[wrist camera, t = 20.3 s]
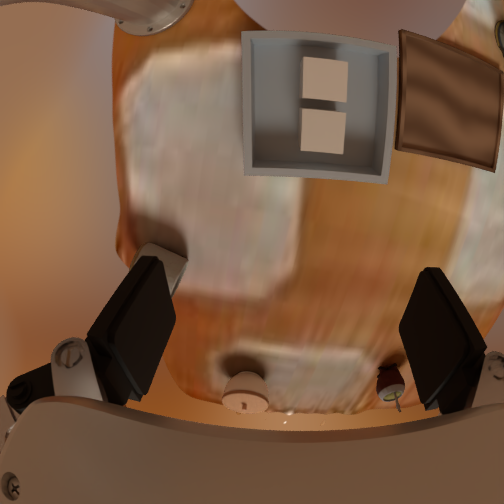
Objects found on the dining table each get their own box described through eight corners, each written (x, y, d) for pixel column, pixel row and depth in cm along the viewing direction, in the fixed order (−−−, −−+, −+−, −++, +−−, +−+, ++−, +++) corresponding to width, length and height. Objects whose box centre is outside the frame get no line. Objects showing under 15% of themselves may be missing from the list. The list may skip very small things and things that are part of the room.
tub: (246, 39, 28) (241, 31, 24) (382, 51, 26) (396, 46, 22) (248, 165, 37) (244, 175, 33) (375, 173, 36) (387, 184, 31)
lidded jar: (271, 388, 65) (269, 420, 58) (230, 387, 67) (225, 418, 59) (268, 365, 60) (266, 400, 52) (223, 365, 62) (216, 398, 54)
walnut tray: (398, 30, 24) (401, 29, 23) (499, 71, 22) (503, 71, 21) (394, 148, 33) (397, 150, 32) (490, 170, 31) (494, 173, 30)
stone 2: (299, 106, 32) (302, 108, 27) (336, 110, 31) (346, 112, 26) (297, 142, 34) (300, 150, 29) (333, 145, 34) (343, 154, 29)
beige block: (300, 63, 28) (303, 56, 23) (337, 67, 28) (348, 62, 23) (299, 98, 31) (302, 97, 26) (336, 101, 31) (346, 102, 25)
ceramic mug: (149, 231, 45) (128, 257, 38) (193, 251, 46) (178, 279, 39) (139, 275, 50) (121, 302, 44) (177, 293, 51) (164, 322, 45)
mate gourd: (384, 380, 61) (394, 429, 48) (365, 373, 59) (374, 426, 47) (406, 364, 57) (419, 415, 44) (387, 356, 56) (400, 411, 43)
